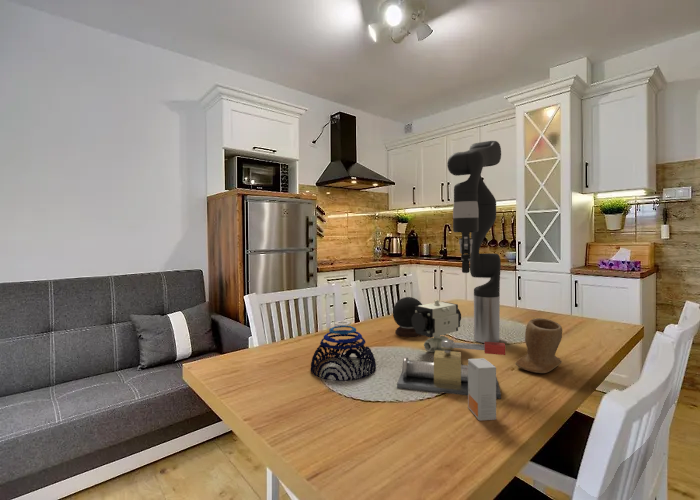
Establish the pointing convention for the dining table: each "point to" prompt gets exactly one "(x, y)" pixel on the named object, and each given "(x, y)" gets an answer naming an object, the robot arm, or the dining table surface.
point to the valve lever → (476, 346)
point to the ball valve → (436, 322)
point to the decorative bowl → (347, 354)
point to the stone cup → (541, 346)
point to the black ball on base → (405, 316)
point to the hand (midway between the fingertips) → (465, 272)
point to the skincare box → (482, 389)
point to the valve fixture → (438, 374)
